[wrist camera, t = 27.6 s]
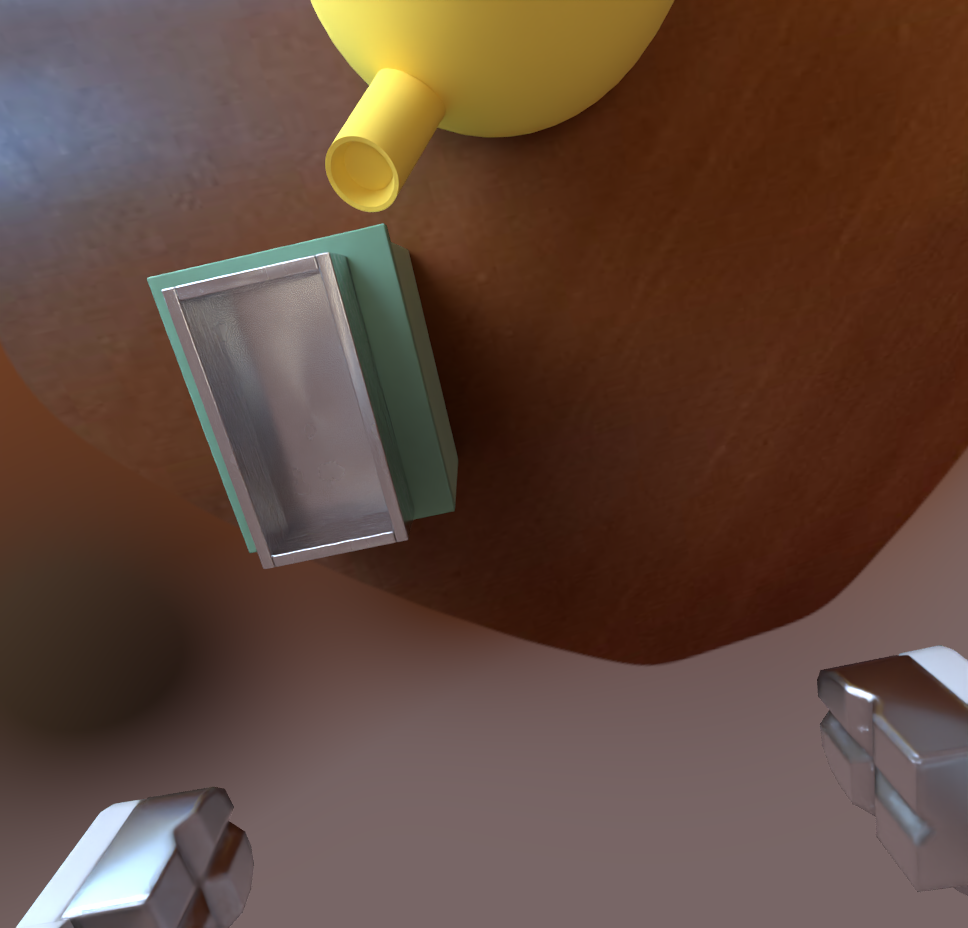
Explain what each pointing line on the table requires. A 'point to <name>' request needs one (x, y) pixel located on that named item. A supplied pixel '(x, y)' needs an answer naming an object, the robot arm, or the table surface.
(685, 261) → the table surface
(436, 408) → the lunchbox
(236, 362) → the open storage tray
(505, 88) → the teapot
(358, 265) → the lunchbox lid
